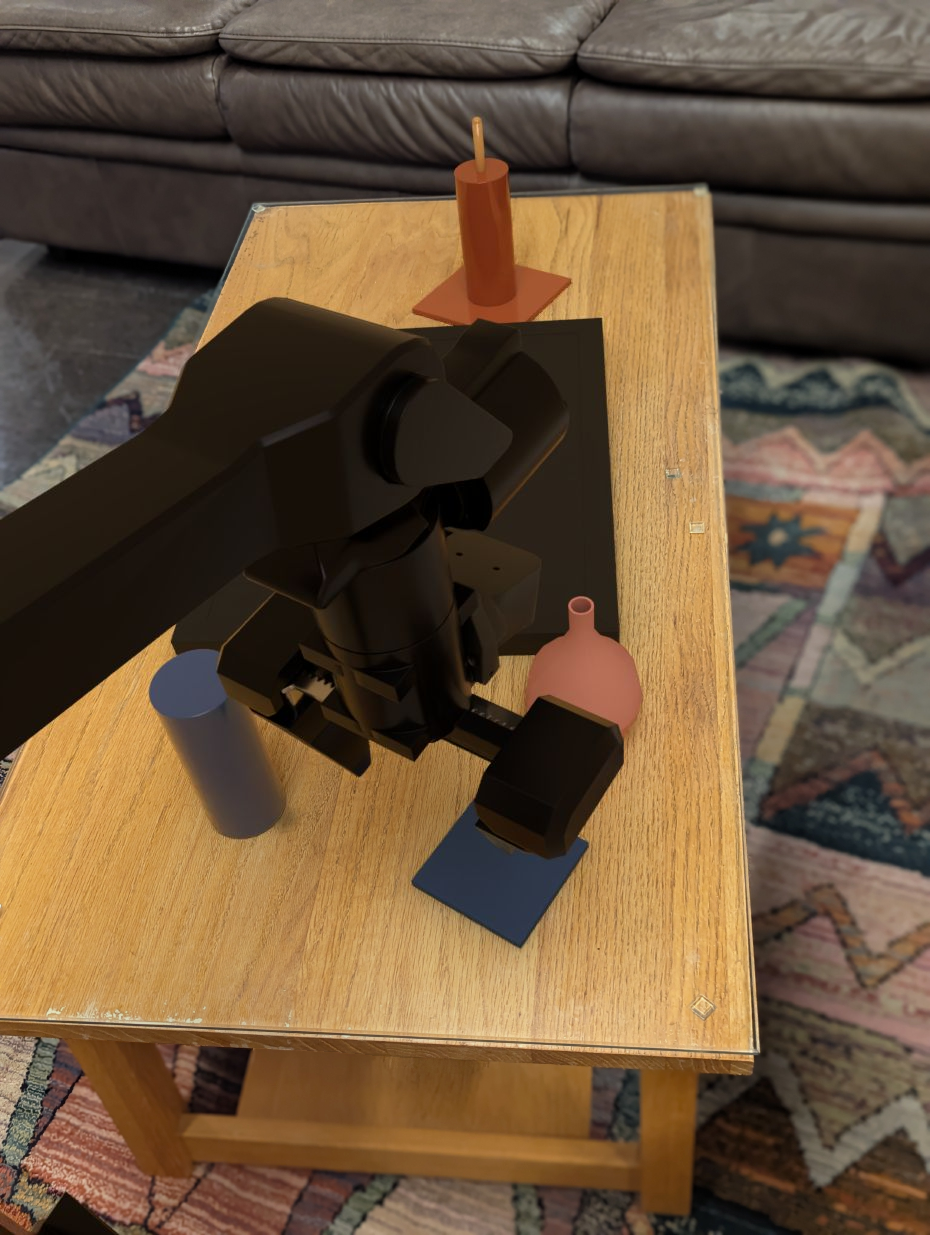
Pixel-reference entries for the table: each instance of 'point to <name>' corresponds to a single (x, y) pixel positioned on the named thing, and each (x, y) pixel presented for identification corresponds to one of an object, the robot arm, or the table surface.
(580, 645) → the terracotta bud vase
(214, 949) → the table surface
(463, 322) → the terracotta tile
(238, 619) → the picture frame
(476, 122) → the terracotta candle
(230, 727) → the blue cylinder
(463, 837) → the blue mat
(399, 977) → the table surface
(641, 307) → the table surface
